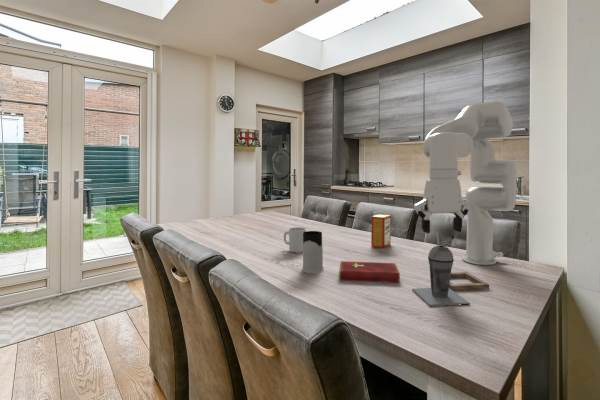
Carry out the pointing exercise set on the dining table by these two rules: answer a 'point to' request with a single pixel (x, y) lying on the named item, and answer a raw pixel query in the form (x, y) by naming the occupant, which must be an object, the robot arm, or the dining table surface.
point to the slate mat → (434, 301)
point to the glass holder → (312, 252)
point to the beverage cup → (440, 269)
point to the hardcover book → (369, 271)
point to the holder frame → (475, 285)
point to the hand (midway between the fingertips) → (441, 231)
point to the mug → (295, 239)
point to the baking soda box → (381, 231)
